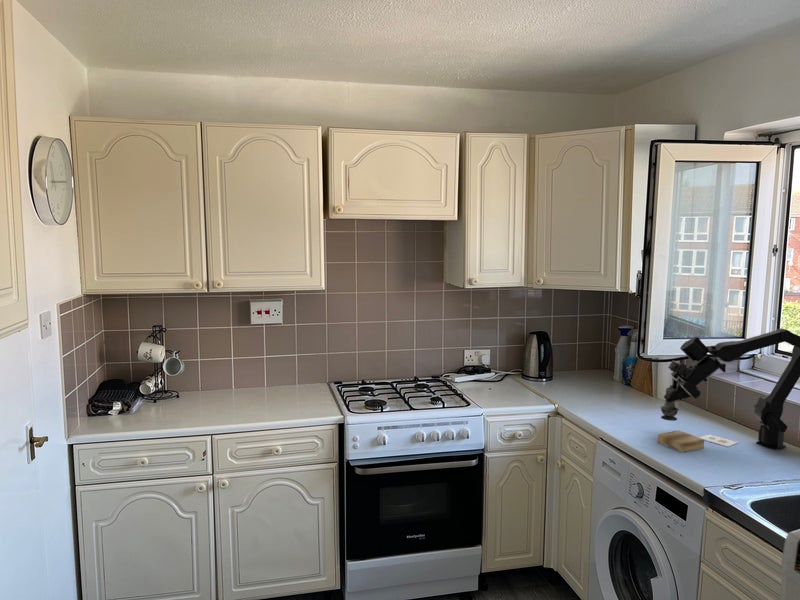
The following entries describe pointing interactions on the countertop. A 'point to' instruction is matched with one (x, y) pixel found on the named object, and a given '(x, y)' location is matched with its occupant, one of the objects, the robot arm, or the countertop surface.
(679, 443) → the base brick
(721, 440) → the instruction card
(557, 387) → the countertop surface
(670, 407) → the weathered stone finial
